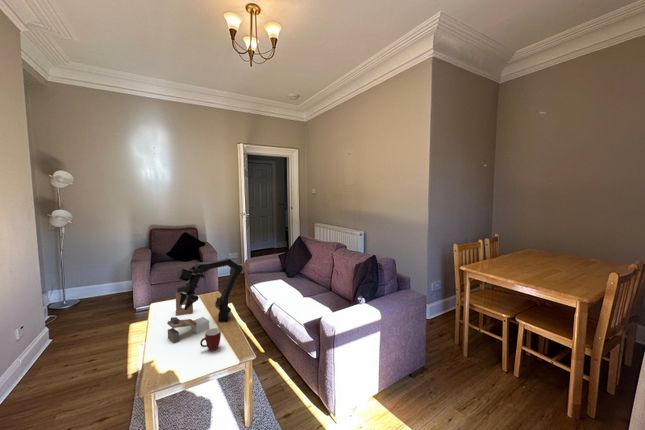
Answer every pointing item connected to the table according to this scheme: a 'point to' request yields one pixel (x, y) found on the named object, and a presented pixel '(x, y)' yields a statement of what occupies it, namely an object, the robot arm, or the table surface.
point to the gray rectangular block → (200, 327)
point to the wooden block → (179, 307)
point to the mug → (212, 339)
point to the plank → (180, 322)
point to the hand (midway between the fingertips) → (182, 307)
